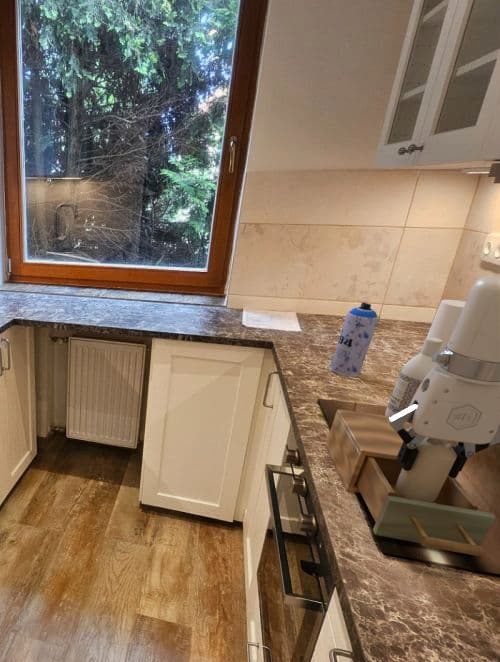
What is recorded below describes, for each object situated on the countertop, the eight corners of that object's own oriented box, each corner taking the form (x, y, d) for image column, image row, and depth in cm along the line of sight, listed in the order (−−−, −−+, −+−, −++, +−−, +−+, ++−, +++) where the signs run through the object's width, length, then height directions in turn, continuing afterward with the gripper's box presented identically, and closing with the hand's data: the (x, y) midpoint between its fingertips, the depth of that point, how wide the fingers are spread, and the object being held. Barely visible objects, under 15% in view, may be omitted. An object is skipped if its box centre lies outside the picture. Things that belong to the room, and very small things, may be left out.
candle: (389, 479, 80) (411, 429, 76) (427, 486, 79) (451, 435, 74) (401, 499, 75) (425, 447, 71) (441, 507, 74) (468, 454, 70)
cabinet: (439, 506, 82) (460, 465, 78) (346, 490, 86) (361, 450, 82) (404, 457, 96) (420, 420, 92) (325, 445, 99) (337, 409, 95)
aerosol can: (322, 367, 138) (343, 300, 129) (344, 365, 140) (366, 299, 131) (343, 377, 131) (367, 308, 123) (366, 375, 133) (391, 306, 124)
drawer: (497, 582, 66) (520, 545, 63) (388, 561, 69) (405, 525, 66) (432, 494, 84) (448, 462, 81) (348, 480, 87) (360, 449, 84)
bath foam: (401, 428, 107) (436, 345, 98) (376, 413, 113) (407, 334, 104) (426, 426, 108) (463, 344, 99) (400, 411, 114) (432, 333, 105)
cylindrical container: (444, 404, 118) (488, 307, 107) (419, 406, 117) (461, 308, 106) (420, 392, 124) (459, 299, 113) (396, 393, 123) (433, 300, 112)
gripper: (416, 367, 66) (373, 473, 74) (565, 384, 62) (502, 494, 70) (396, 348, 72) (358, 448, 80) (529, 363, 68) (475, 466, 76)
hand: (426, 468), depth 75 cm, fingers closed on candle, 5 cm apart
